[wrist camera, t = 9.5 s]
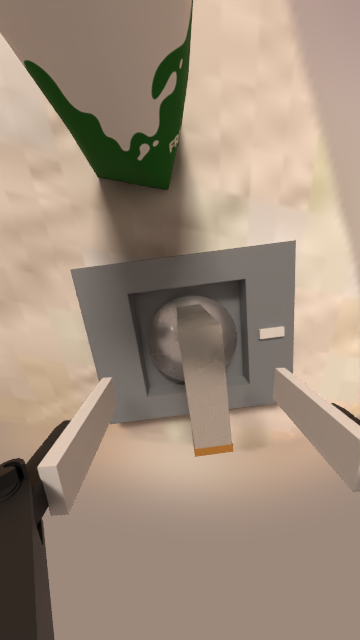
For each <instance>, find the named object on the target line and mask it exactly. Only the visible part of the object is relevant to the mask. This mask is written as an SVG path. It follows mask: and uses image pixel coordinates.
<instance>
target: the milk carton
mask: <svg viewBox="0 0 360 640" xmlns="http://www.w3.org/2000/svg"><path fill="white" fill-rule="evenodd" d="M192 7H193V0H0V32H1V34H2V35H3V37H4V38H5V40H6V41H7V42H8V44H9V45H10V47H11V48H12V50H13V51H14V52H15V54H16V55H17V57H18V58H19V59H20V61H21V62H22V64H23V65H24V67H25V68H26V69H27V71H28V72H29V74H30V75H31V77H32V78H33V79H34V81H35V82H36V84H37V85H38V87H39V88H40V89H41V91H42V92H43V94H44V95H45V97H46V98H47V99H48V101H49V102H50V104H51V105H52V106H53V108H54V109H55V111H56V112H57V114H58V115H59V116H60V118H61V119H62V121H63V122H64V124H65V125H66V127H67V128H68V129H69V131H70V133H71V134H72V136H73V137H74V139H75V141H76V142H77V144H78V146H79V147H80V149H81V150H82V152H83V154H84V155H85V157H86V159H87V160H88V162H89V163H90V165H91V167H92V168H93V170H94V172H95V173H96V175H97V177H100V178H105V179H110V180H116V181H121V182H127V183H132V184H138V185H143V186H149V187H154V188H159V189H165V190H168V187H169V183H170V178H171V173H172V169H173V164H174V159H175V155H176V150H177V145H178V141H179V136H180V131H181V125H182V118H183V110H184V103H185V96H186V88H187V81H188V72H189V56H190V40H191V24H192Z"/></svg>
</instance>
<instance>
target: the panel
mask: <svg viewBox="0 0 360 640" xmlns="http://www.w3.org/2000/svg"><path fill="white" fill-rule="evenodd" d="M295 247H296V240H295V241H288V242H280V243H272V244H264V245H257V246H249V247H241V248H234V249H226V250H218V251H210V252H203V253H195V254H187V255H180V256H172V257H164V258H156V259H149V260H141V261H133V262H126V263H118V264H110V265H102V266H95V267H87V268H79V269H72V270H71V274H72V278H73V281H74V285H75V289H76V293H77V297H78V301H79V305H80V309H81V313H82V316H83V320H84V324H85V328H86V332H87V336H88V340H89V344H90V348H91V352H92V355H93V359H94V363H95V367H96V371H97V375H98V379H99V382H100V380H101V379H102V378H108V377H112V379H113V386H114V394H115V401H116V409H115V412H114V414H113V416H112V418H111V421H110V424H116V423H124V422H132V421H140V420H148V419H156V418H164V417H172V416H180V415H187V414H190V412H189V406H188V399H187V392H186V385H185V381H181V380H177V379H175V378H172V377H170V376H168V375H167V374H165V373H164V372H162V371H161V370H160V369H159V368H158V367H157V366H156V364H155V363H154V361H153V360H152V358H151V356H150V353H149V350H148V345H147V335H148V329H149V326H150V323H151V321H152V319H153V318H154V316H155V314H156V313H157V311H158V310H159V309H160V308H161V307H162V306H163V305H164V304H166V303H167V302H168V301H170V300H172V299H174V298H176V297H179V296H183V295H201V296H205V297H208V298H210V299H212V300H214V301H216V302H218V303H219V304H221V305H222V306H223V307H224V308H225V309H226V310H227V311H228V312H229V313H230V315H231V317H232V318H233V320H234V323H235V326H236V329H237V346H236V350H235V353H234V355H233V357H232V359H231V360H230V362H229V363H228V365H227V366H226V367H225V372H226V383H227V394H228V406H229V409H235V408H243V407H251V406H259V405H267V404H275V403H277V402H276V401H275V400H274V399H273V388H274V377H275V368H286V369H287V370H288V371H289V372H291V373H292V374H293V340H294V294H295Z"/></svg>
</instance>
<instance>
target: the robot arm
mask: <svg viewBox="0 0 360 640" xmlns="http://www.w3.org/2000/svg"><path fill="white" fill-rule="evenodd" d="M273 399H274V400H275V401H276V402H277V404H278V405H279V406H280V407H281V408H282V409H283V411H284V412H285V413H286V414H287V415H288V416H289V418H290V419H291V420H292V421H293V422H294V424H295V425H296V426H297V427H298V428H299V429H300V431H301V432H302V433H303V434H304V435H305V436H306V438H307V439H308V440H309V441H310V442H311V443H312V445H313V446H314V447H315V448H316V449H317V450H318V451H319V453H320V454H321V455H322V456H323V457H324V458H325V460H326V461H327V462H328V463H329V464H330V466H331V467H332V468H333V469H334V470H335V471H336V473H337V474H338V475H339V476H340V477H341V478H342V480H343V481H344V482H345V483H346V484H347V485H348V486H349V488H350V489H351V490H352V491H353V492H355V491H360V420H359V419H358V418H356V417H354V415H352V414H351V413H350V412H348V411H347V410H346V409H344V408H342V407H340V406H338V405H336V404H334V403H330V402H328V401H327V400H326V399H324V398H323V397H322V396H320V395H319V394H318V393H317V392H315V391H314V390H313V389H311V388H310V387H309V386H308V385H306V384H305V383H304V382H302V381H301V380H300V379H299V378H297V377H296V376H295V375H293V374H292V373H291V372H289V371H288V370H287V369H286V368H275V377H274V388H273ZM115 409H116V401H115V394H114V386H113V379H112V377H108V378H102V379H101V380H100V382H99V383H98V385H97V386H96V387H95V389H94V390H93V391H92V393H91V394H90V395H89V397H88V398H87V400H86V401H85V402H84V404H83V405H82V406H81V408H80V409H79V411H78V412H77V413H76V415H75V416H74V417H73V419H72V420H68V421H63V422H62V423H61V424H60V425H58V426H57V427H56V428H55V429H54V430H53V431H52V433H51V434H50V435H49V436H48V438H47V439H46V440H45V441H44V443H43V444H42V446H40V448H39V449H38V450H37V451H36V452H35V454H34V455H33V456H32V457H31V459H30V460H29V461H28V463H27V464H26V465H25V462H24V460H23V459H20V458H17V459H12V460H9V461H7V462H4V463H2V464H1V465H0V640H54V632H53V622H52V611H51V601H50V590H49V580H48V569H47V559H46V548H45V538H44V528H43V521H42V517H43V515H44V513H45V511H46V509H47V508H48V507H49V511H50V514H51V516H52V515H65V514H69V512H70V510H71V507H72V505H73V503H74V501H75V499H76V496H77V494H78V492H79V490H80V487H81V485H82V483H83V481H84V478H85V476H86V474H87V472H88V470H89V467H90V465H91V463H92V461H93V458H94V456H95V454H96V451H97V450H98V447H99V445H100V443H101V441H102V438H103V436H104V434H105V432H106V429H107V427H108V425H109V423H110V421H111V418H112V416H113V414H114V412H115Z"/></svg>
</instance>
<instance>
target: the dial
mask: <svg viewBox="0 0 360 640" xmlns="http://www.w3.org/2000/svg"><path fill="white" fill-rule="evenodd" d="M147 345H148V350H149V353H150V356H151V358H152V360H153V361H154V363H155V364H156V366H157V367H158V368H159V369H160V370H161V371H162V372H164V373H165V374H167V375H168V376H170V377H172V378H175V379H177V380H181V381H185V385H186V392H187V399H188V406H189V412H190V419H191V426H192V434H193V443H194V452H195V456H203V455H211V454H218V453H225V452H233V444H232V440H231V429H230V417H229V406H228V394H227V383H226V372H225V367H226V366H227V365H228V363H229V362H230V360H231V359H232V357H233V355H234V353H235V350H236V346H237V329H236V326H235V323H234V320H233V318H232V317H231V315H230V313H229V312H228V311H227V310H226V309H225V308H224V307H223V306H222V305H221V304H219V303H218V302H216V301H214V300H212V299H210V298H208V297H205V296H201V295H183V296H179V297H176V298H174V299H172V300H170V301H168V302H167V303H166V304H164V305H163V306H162V307H161V308H160V309H159V310H158V311H157V313H156V314H155V316H154V318H153V319H152V321H151V323H150V326H149V329H148V335H147Z"/></svg>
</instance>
